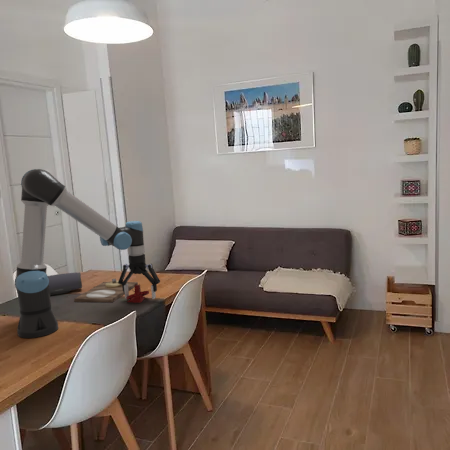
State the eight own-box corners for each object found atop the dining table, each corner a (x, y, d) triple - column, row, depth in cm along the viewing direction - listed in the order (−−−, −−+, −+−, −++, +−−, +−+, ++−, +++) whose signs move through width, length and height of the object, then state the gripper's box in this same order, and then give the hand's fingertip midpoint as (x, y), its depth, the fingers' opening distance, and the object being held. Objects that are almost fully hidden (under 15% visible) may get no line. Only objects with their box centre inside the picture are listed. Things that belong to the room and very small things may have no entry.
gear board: (112, 302, 212) (111, 292, 212) (74, 301, 217) (73, 291, 216) (137, 284, 241) (137, 275, 241) (103, 284, 246) (102, 275, 245)
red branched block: (142, 295, 221) (141, 279, 220) (153, 301, 211) (152, 283, 210) (121, 300, 215) (120, 283, 214) (132, 306, 205) (130, 288, 204)
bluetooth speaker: (81, 287, 242) (79, 269, 241) (82, 292, 234) (80, 273, 232) (36, 294, 234) (33, 275, 233) (35, 299, 226) (33, 279, 224)
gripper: (164, 252, 210) (168, 295, 213) (115, 252, 216) (119, 295, 219) (159, 255, 203) (162, 300, 206) (108, 256, 208) (112, 300, 211)
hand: (140, 298), depth 212 cm, fingers open, 13 cm apart
